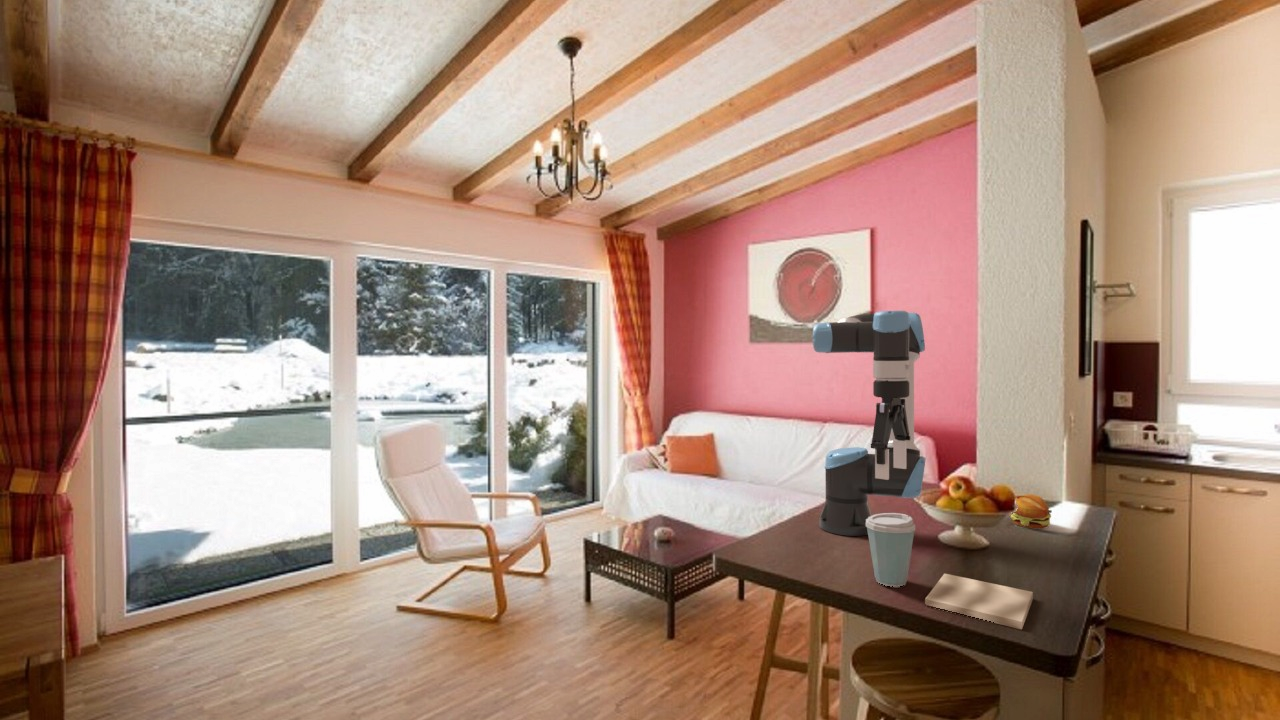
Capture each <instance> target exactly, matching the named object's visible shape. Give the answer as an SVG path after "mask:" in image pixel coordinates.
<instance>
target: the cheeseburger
mask: <svg viewBox="0 0 1280 720" xmlns="http://www.w3.org/2000/svg"><path fill="white" fill-rule="evenodd" d="M1015 498H1016V502H1017V505H1018V509H1017V511H1016V512H1014V513H1013V514H1012V513H1011V515H1010V519H1011V521H1012V523H1013V524H1014V525H1017V526H1019V527H1023V528H1029V529H1036V530H1037V529H1038V530H1041V529H1047V528H1048V527H1049V526H1050V525H1051V522H1050V521H1051V520H1050V519H1051V517H1052V514H1051V513H1052V509H1051V510H1050V509H1049V506H1048V504H1047V503H1046V501H1045V500H1044V499H1043V498H1042V497H1041V496H1040V495H1037V494H1032V493H1031V494H1022V495H1018V496H1016V497H1015Z"/></svg>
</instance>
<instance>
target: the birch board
mask: <svg viewBox="0 0 1280 720" xmlns="http://www.w3.org/2000/svg"><path fill="white" fill-rule="evenodd" d="M1033 599H1034V592H1033V591H1030V590H1026V589H1021V588H1015V587H1011V586H1007V585H1001V584H997V583H991V582H986V581H982V580H977V579H972V578H968V577H965V576H964V577H963V576H958V575H953V574H949V573H943V575H942V576H941V577H940V579H939V580H938V581H937V583H936V584H935V586H933V588H932V589H931V590H930V592H929V593H928V595H927V596H926V597H925V599H924V605H925V604H926V605H929V606H933V607H936V608H940V609H945V610H948V611H952V612H957V613H960V614H964V615H967V616H966V617H968V616H971V617H970V618H972V617H975V618H974V619H976V618H979V619H978V620H980V619H983V620H982V621H985V620H987V621H986V622H989V621H991V622H990V623H993V622H994V623H993V624H997V625H1001V626H1006V627H1010V628H1013V629H1018V630H1023V627H1024V624H1025V622H1026V619H1027V617H1028V614H1029V610H1030V608H1031V606H1032V603H1033ZM936 608H935V609H936ZM940 609H939V610H940ZM948 611H947V612H948ZM952 612H951V613H952ZM960 614H959V615H960ZM964 615H963V616H964Z"/></svg>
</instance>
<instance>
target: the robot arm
mask: <svg viewBox="0 0 1280 720" xmlns="http://www.w3.org/2000/svg"><path fill="white" fill-rule="evenodd" d="M924 335H925V334H924V328H923V323H922V318H921V316H920V314H918V313H917V312H907V311H906V310H880V311H875V312H874V313H870V312H869V313H859V314H856V315H852V316H847V317H845V318H842V319H840V320H838V321H837V322H836V321H835V322H828V321H826V322H819V323H816V324H814V325H813V329H812V345H813V350H814V352H816V353H820V354H821V353H823V354H835V353H836V354H837V353H838V354H839V353H841V354H842V353H843V354H845V353H873V359H872V361H873V362H872V377H873V378H874V379H875V380H873V383H872V384H873V386H872V387H873V388H872V389H873V393H872V394H873V396H874V397H876V398H881V402H876V404H875V407H876V408H875V416H874V417H875V418H874V424H873V425H874V426H873V431H872V439H871V443H870V448H871V449H874V453H869V451H868V449H867V448H866V447H859V446H854V447H852V446H851V447H843V448H837V449H833V450H830V451H829V452H827V453H826V456H825V466H824V469H825V502H824V504H823V507H822V511H821V514H820V516H819V527H820V529H821V530H823V531H825V532H827V533H831V534H836V535H839V536H847V537H849V536H853V537H855V536H868V530H867V527H866V524H865V523H866V519H868V517H870V516H872V515H873V514H872V513H871V509H870V506H869V504H868V502H869V501H868V500H869V499H868V496H869V495H870V496H879V497H892V498H900V499H904V498H905V499H906V498H907V499H916V497H917V498H918V496H920V495H921V494H922V488H923V481H924V474H925V468H926V467H925V466H926V457H924V456H923V455H921V450H920V448H918V447H917V446H916V445H915V363H916V361H918V360H919V358H920V355H921V353H922V352H924V351H926V344H925V343H926V342H925V336H924Z"/></svg>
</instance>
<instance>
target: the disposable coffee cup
mask: <svg viewBox="0 0 1280 720" xmlns="http://www.w3.org/2000/svg"><path fill="white" fill-rule="evenodd" d="M871 515H872V516H870V517H868V519H866V523H865V524H866V527H867V530H868V534H867V536H868V541H869V549H870V555H871V562H872V566H873V572H874V579H875V580H876V583H877V582H878V584H879V583H880V584H879V585H881V584H883V585H882V586H884V585H885V586H884V587H887V586H890V588H901V587H900V586H903V585H904V586H906V585H907V582H908V575H909V572H910V571H909V569H910V562H911V556H912V550H913V548H912V547H913V542H914V535H915V531H916V530H917V529H916V524H915V523H914V519H913V517H912V516H910V515H908V514H905V513H898V512H883V513H875V514H871ZM892 586H893V587H892ZM904 586H903V587H904Z"/></svg>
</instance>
